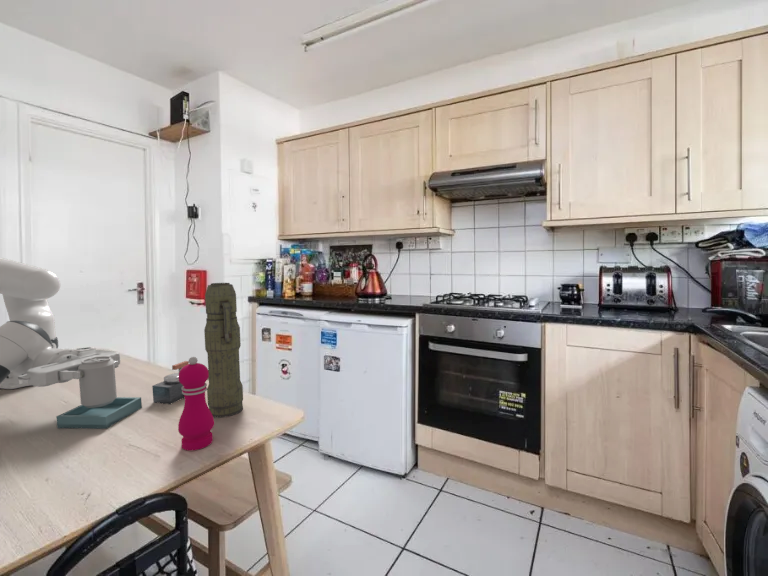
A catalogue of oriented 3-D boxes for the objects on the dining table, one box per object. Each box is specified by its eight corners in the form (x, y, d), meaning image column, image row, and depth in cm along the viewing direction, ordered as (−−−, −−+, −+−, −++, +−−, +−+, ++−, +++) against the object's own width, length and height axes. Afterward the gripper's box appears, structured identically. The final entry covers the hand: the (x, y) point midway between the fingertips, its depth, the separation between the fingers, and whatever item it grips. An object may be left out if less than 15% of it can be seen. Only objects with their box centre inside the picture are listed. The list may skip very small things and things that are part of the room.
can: (98, 409, 93) (95, 363, 92) (73, 408, 94) (69, 362, 93) (124, 398, 100) (121, 355, 99) (100, 397, 101) (97, 354, 100)
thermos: (233, 400, 109) (228, 281, 106) (251, 412, 100) (245, 283, 97) (201, 409, 103) (194, 283, 100) (217, 422, 94) (210, 285, 91)
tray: (57, 428, 92) (56, 416, 92) (98, 407, 104) (97, 397, 104) (106, 428, 91) (105, 416, 91) (141, 407, 104) (141, 397, 104)
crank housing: (152, 402, 108) (149, 368, 107) (184, 388, 119) (182, 357, 118) (171, 404, 106) (169, 369, 105) (202, 389, 117) (200, 358, 117)
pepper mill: (191, 455, 79) (186, 363, 77) (172, 446, 82) (167, 358, 81) (221, 441, 85) (217, 355, 83) (203, 433, 88) (198, 351, 87)
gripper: (12, 365, 90) (53, 369, 86) (97, 345, 109) (134, 348, 106) (14, 390, 90) (55, 395, 86) (99, 366, 110) (135, 370, 106)
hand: (99, 369), depth 96 cm, fingers closed on can, 7 cm apart
